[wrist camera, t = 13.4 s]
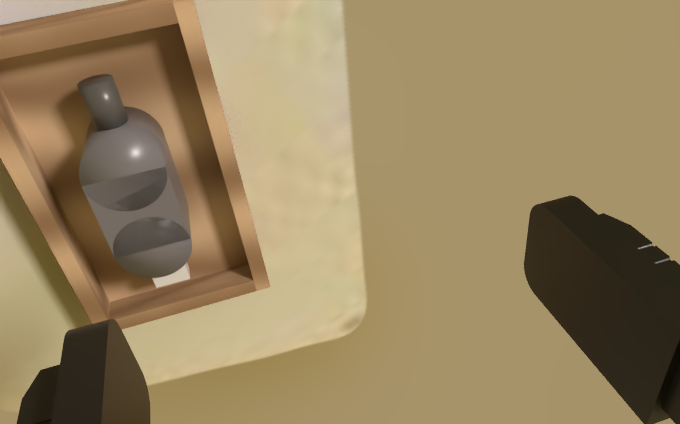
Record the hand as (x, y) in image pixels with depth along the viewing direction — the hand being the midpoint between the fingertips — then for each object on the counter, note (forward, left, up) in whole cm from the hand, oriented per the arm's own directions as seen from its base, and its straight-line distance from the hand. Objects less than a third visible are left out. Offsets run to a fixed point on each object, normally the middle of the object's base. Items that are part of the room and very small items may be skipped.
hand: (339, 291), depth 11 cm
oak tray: (+9, -7, -25) cm, 28 cm away
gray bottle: (+9, -7, -25) cm, 27 cm away
